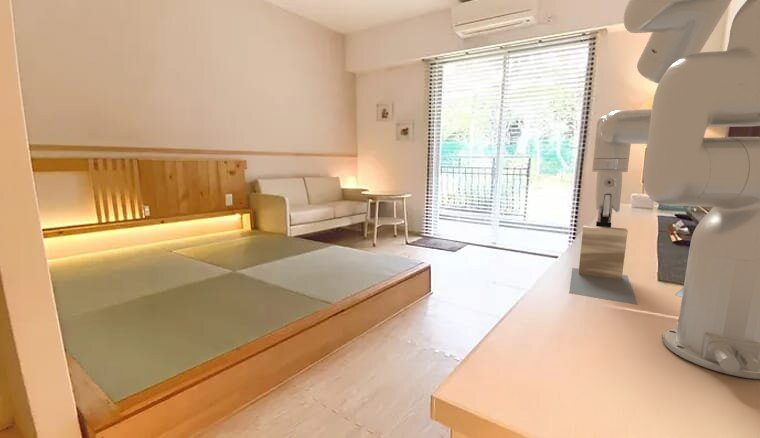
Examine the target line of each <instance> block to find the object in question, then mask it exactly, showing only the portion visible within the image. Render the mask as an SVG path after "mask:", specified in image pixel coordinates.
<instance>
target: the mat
mask: <svg viewBox="0 0 760 438" xmlns="http://www.w3.org/2000/svg"><path fill="white" fill-rule="evenodd" d="M568 294H572V295H577V296H585V297H589V298H597V299H601V300H602V299H603V300H607V301H615V302H620V303H627V304H632V305H639V304H638V301H637V299H636V296H635V293H634V290H633V288H632V285H631V282H630V279H629V277H628V275H627V274H622V280H618V279H611V278H604V277H597V276H590V275H583V274H579V267H578V268H577V267H576V268H575V267H572V268H571V276H570V283H569V291H568Z"/></svg>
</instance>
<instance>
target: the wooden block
mask: <svg viewBox="0 0 760 438" xmlns="http://www.w3.org/2000/svg"><path fill="white" fill-rule="evenodd" d="M627 239H628V229H627V228H624V227H623V228H621V227H612V226H611V227H600V226H596V225H587V224H586V225H585V224H583V226H582V235H581V244H580V245H581V246H580V255H579V263H578V264H579V265H578V269H579V274H583V275H590V276H597V277H604V278H611V279H618V280H622V275H623V273H624V272H623V271H624V263H625V256H626V255H625V254H626V249H627V248H626V247H627V241H628V240H627Z"/></svg>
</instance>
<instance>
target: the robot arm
mask: <svg viewBox="0 0 760 438" xmlns="http://www.w3.org/2000/svg"><path fill="white" fill-rule="evenodd" d="M732 1H733V0H628V1H627V4H626V7H625V9H624V14H623V15H624V16H623V25H624V28H625V30H626V31H627V32H628V33H632V34H645V33H646V34H647V33H651V34H650V36H649V38H648V41H647V43H646V44H645V47H644V49H643V51H642V52H641V54H640V56H639V59H638V61H637V64H636V65H637V66H636V69H637V72H638V73H639V74H640V75H641V76H642V77H643V78H645V79H647V80H648V81H650V82H653V83H655V84H657V87H656V89H655V93H654V96H653V101H652V105H651V108H649V109H645V108H644V109H642V108H641V109H620V110H614V111H613V110H612V111H611V112H609V113H607V114H606V115H603V116H601V117H599V119H598V120H597V123H596V130H595V131H596V132H595V139H594V140H595V141H594V153H593V159H592V168H591V169H592V170H591V172H596V173H597V176H596V183H595V184H596V185H595V209H596V211H597V221H595V222H596V223H595V226H600V227H612V222H611V221H612V214H613V211H615V213H619V212H620V210H621V209H620V208H621V198H622V196H621V195H622V190H623V189H622V187H623V173H628V171H629V162H630V155H631V153H630V152H631V145H635V144H636V145H643V144H644V145H646V148H645V149H646V150H645V155H644V156H645V157H644V161H643V173H642V175H643V178H642V179H643V181H642V182H643V186H644V190H645V193H646V195H647V196H648V197H649V199H650V200H652V201H654V202H655V203H657V204H659V205H660V204H661V205H664V206H665V205H666V206H675V207H703V208H704V207H706V208H707V207H709V208H710V207H711V209H710V210H709V211H708V212H707V213H706V214H705V215H704V217H703V218H702V219H700V221H699V223H698V224H697V225H696V227H695V229H694V230H693V233H692V235H691V239H690V246H689V250H688V257H687V263H686V268H685V269H686V270H685V278H684V281H683V283H684V284H683V287H684V289H683V295H682V297H681V302H680V309H679V317H678V322H677V327H675V328H670V329H667V330H665V331H664V332H663V335H662V342H663V344H664V345H665V347H666V348H667V349H668V350H670V352H672V353H674V354H676V355H677V356H679V357H680V358H683V359H685V360H686V361H689V362H691V363H693V364H696V365H697V366H700V367H702V368H706V369H709V370H711V371H715V372H718V373H722V374H726V375H730V376H735V377H738V378H739V377H740V378H744V379H754V380H755V379H756V380H760V136H725V137H723V136H722V137H705V133H706V131H707V128H724V127H728V128H729V127H735V128H736V127H760V0H745V2H744V3H743V4H742V5H741V7H740V8H739V10H737V12H736V13H735V16H734V18H733V20H732V22H731V26H730V30H729V37H728V44H727V47H726V50H722V51H720V50H719V51H702V50H703V48H704V47H705V45H706V44H707V42H708V40H709V38H710V37H711V35H712V34H713V32H714V30H715V28H716V27H717V26H718V24H719V22H720V20H721V19H722V18H723V16H724V14H725V12H726V11H727V9H728V8H729V5H731V3H732ZM701 51H702V52H701Z"/></svg>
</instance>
